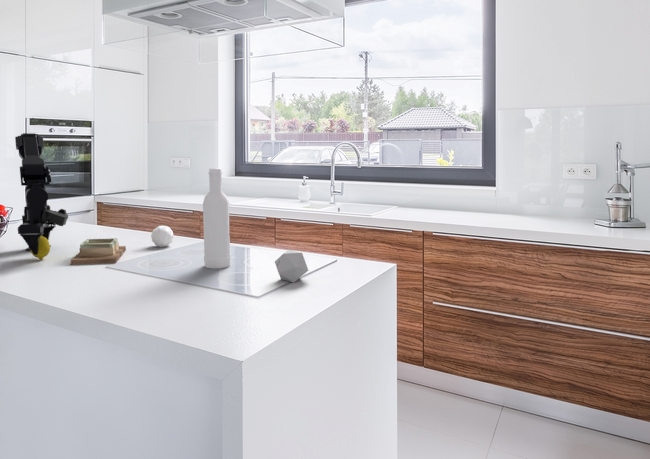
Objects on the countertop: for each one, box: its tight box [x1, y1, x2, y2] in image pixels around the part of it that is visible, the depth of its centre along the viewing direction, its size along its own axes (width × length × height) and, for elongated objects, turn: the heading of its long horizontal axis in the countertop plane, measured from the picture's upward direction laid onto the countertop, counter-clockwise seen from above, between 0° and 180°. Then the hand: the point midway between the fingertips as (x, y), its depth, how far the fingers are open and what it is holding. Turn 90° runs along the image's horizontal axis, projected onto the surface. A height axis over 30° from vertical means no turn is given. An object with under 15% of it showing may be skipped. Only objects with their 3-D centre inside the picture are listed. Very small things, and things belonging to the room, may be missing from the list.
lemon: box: [29, 236, 51, 261], centre depth 166 cm, size 6×6×8 cm
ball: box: [150, 225, 174, 248], centre depth 189 cm, size 8×8×8 cm
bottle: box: [202, 167, 231, 270], centre depth 158 cm, size 8×8×30 cm
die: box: [274, 249, 309, 283], centre depth 145 cm, size 8×9×10 cm
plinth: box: [70, 237, 127, 266], centre depth 171 cm, size 20×13×5 cm, turn 12°
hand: (40, 251), depth 166 cm, fingers open, 9 cm apart
